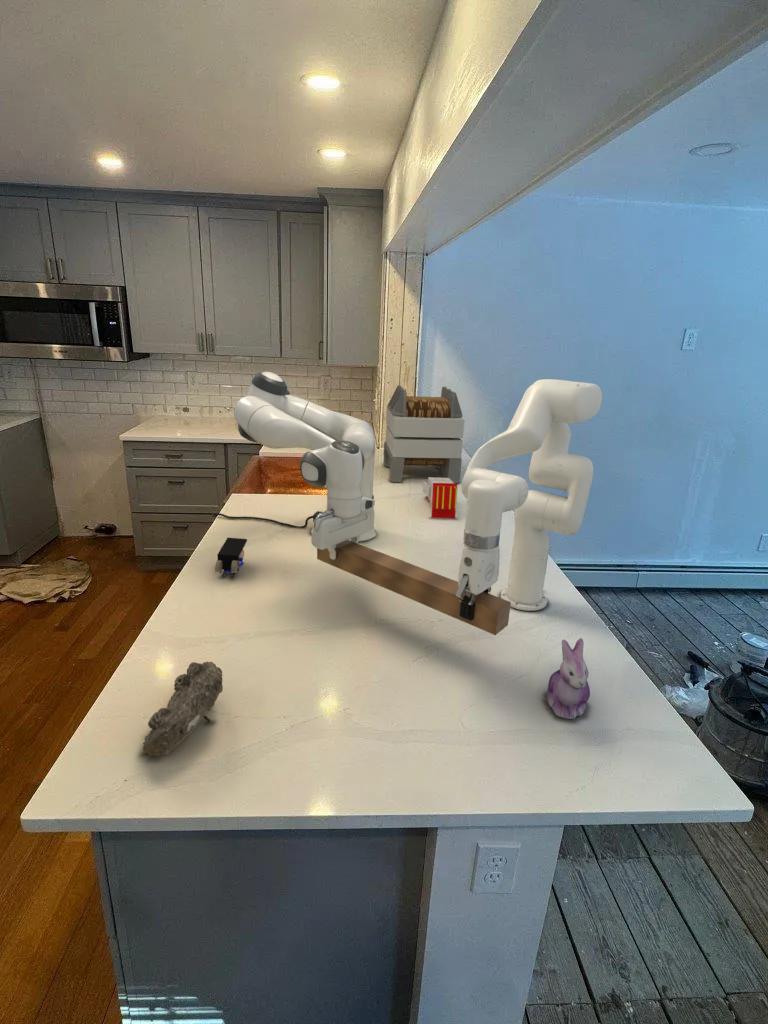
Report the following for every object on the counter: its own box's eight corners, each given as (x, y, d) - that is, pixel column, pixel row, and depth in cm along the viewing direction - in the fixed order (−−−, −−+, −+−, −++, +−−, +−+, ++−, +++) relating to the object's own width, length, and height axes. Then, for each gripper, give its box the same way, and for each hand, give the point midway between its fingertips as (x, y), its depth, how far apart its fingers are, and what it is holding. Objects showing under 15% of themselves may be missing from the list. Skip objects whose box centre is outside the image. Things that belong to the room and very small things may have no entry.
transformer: (382, 463, 289) (386, 382, 275) (445, 464, 293) (451, 384, 279) (390, 482, 257) (394, 392, 243) (460, 483, 261) (468, 394, 247)
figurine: (568, 727, 109) (581, 661, 104) (532, 696, 118) (542, 634, 113) (603, 714, 113) (617, 650, 108) (566, 685, 122) (577, 624, 117)
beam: (317, 559, 153) (316, 539, 151) (331, 552, 157) (331, 533, 155) (495, 635, 121) (498, 611, 119) (508, 625, 125) (510, 601, 123)
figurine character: (238, 584, 162) (249, 557, 175) (236, 562, 158) (247, 536, 172) (215, 584, 161) (227, 556, 175) (212, 561, 158) (225, 535, 171)
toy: (450, 473, 241) (461, 484, 212) (448, 504, 244) (459, 519, 214) (421, 472, 240) (429, 483, 211) (420, 503, 243) (427, 518, 214)
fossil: (172, 663, 116) (224, 630, 111) (205, 693, 119) (256, 663, 114) (117, 750, 97) (177, 715, 92) (158, 783, 100) (218, 752, 95)
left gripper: (323, 518, 135) (323, 570, 140) (379, 499, 150) (377, 546, 155) (305, 511, 139) (306, 562, 144) (361, 493, 154) (359, 540, 159)
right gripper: (475, 556, 112) (467, 634, 118) (516, 531, 124) (507, 604, 131) (443, 545, 116) (438, 621, 122) (486, 522, 129) (479, 593, 135)
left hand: (343, 554), depth 150 cm, fingers closed on beam, 5 cm apart
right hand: (474, 611), depth 126 cm, fingers closed on beam, 5 cm apart
